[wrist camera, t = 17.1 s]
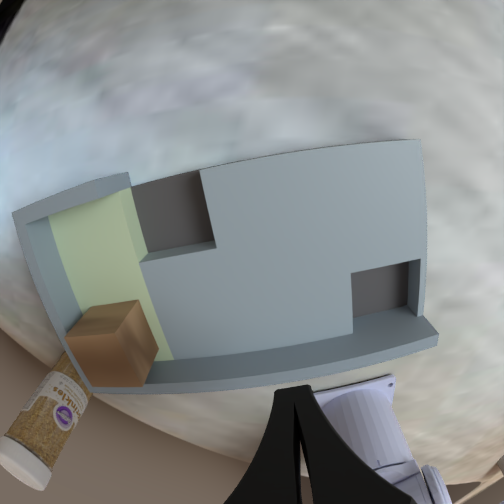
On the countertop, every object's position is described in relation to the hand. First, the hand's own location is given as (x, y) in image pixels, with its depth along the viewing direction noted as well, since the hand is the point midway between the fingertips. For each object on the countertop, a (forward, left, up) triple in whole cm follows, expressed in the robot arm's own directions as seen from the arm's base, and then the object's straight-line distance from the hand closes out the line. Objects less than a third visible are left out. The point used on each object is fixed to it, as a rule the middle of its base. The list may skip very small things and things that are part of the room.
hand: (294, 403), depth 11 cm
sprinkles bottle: (-5, +19, -10) cm, 22 cm away
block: (0, +11, -8) cm, 13 cm away
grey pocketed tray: (+3, +2, -10) cm, 11 cm away
